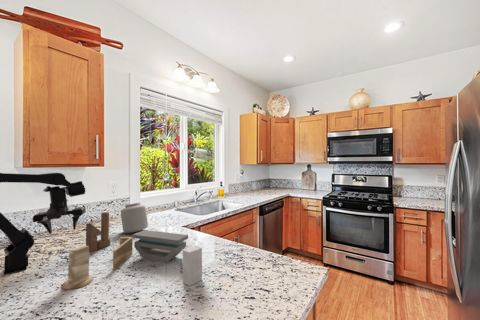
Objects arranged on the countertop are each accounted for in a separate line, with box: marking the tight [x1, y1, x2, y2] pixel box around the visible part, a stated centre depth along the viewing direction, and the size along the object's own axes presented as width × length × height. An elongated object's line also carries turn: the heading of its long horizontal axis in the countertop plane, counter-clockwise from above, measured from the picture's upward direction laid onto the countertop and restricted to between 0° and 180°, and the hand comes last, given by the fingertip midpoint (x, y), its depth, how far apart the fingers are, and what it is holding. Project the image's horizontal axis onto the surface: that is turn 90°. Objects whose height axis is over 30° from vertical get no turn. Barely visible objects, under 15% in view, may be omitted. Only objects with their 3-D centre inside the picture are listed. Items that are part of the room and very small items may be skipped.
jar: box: [120, 202, 149, 234], centre depth 143 cm, size 19×15×25 cm
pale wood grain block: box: [67, 244, 90, 285], centre depth 81 cm, size 4×5×12 cm
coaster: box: [61, 274, 94, 291], centre depth 80 cm, size 9×9×1 cm
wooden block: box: [85, 211, 111, 253], centre depth 114 cm, size 4×11×18 cm, turn 158°
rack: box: [112, 236, 134, 271], centre depth 99 cm, size 6×17×8 cm, turn 4°
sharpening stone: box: [132, 229, 189, 264], centre depth 102 cm, size 25×8×11 cm, turn 71°
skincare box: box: [182, 245, 203, 287], centre depth 82 cm, size 6×4×12 cm
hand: (62, 231), depth 103 cm, fingers open, 9 cm apart
